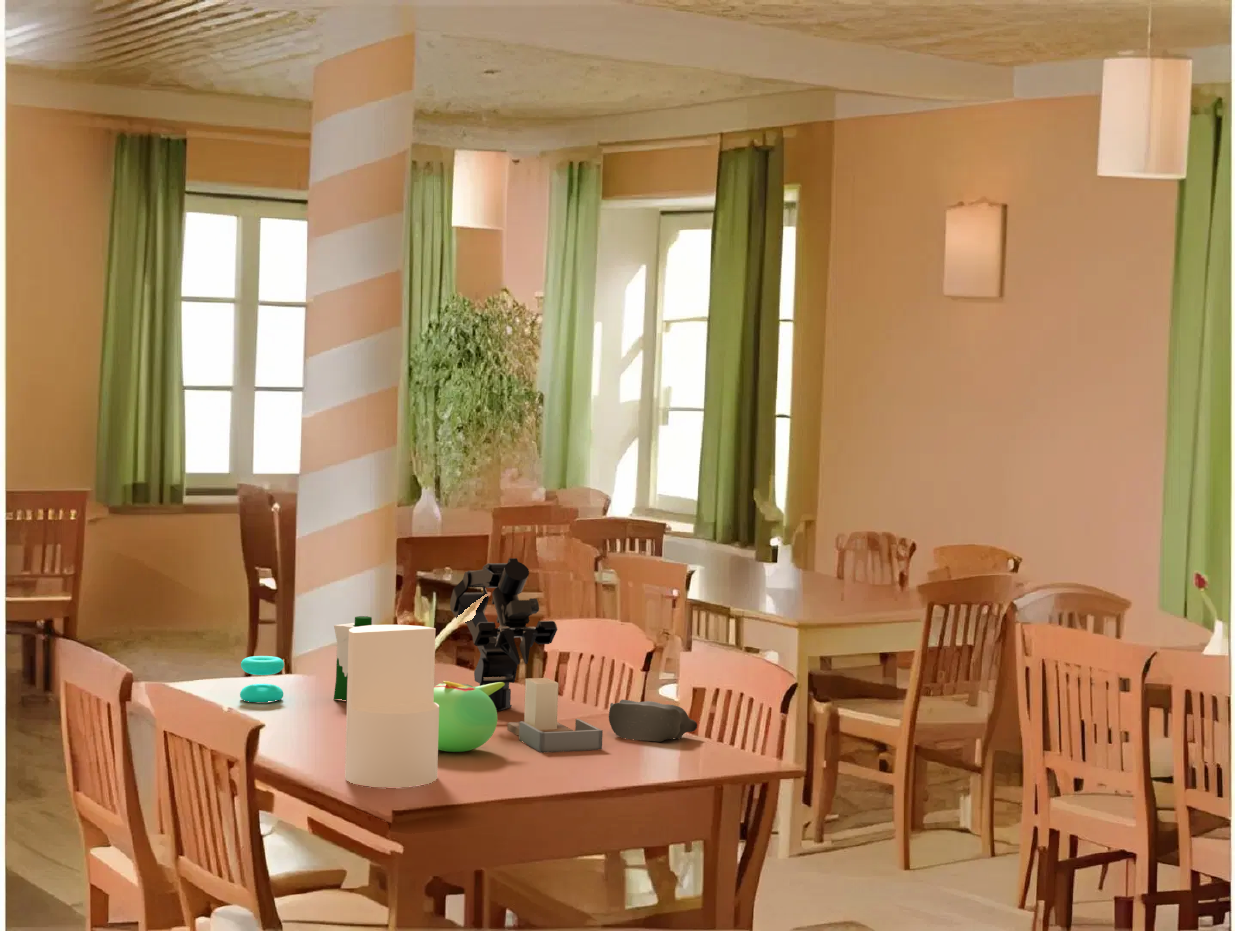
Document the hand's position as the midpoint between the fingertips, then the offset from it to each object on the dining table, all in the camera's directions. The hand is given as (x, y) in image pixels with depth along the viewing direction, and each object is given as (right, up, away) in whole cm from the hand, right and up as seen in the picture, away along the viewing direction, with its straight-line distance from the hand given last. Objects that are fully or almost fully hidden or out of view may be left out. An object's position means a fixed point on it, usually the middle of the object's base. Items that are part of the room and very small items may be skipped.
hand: (522, 663), depth 377 cm
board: (+4, -14, -11) cm, 18 cm away
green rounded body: (-12, -14, -32) cm, 37 cm away
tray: (+9, -15, -23) cm, 28 cm away
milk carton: (-41, -12, +23) cm, 49 cm away
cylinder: (-21, -15, -59) cm, 65 cm away
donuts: (-63, -11, +19) cm, 67 cm away
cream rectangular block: (+4, -12, -11) cm, 17 cm away
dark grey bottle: (+28, -15, -10) cm, 33 cm away
